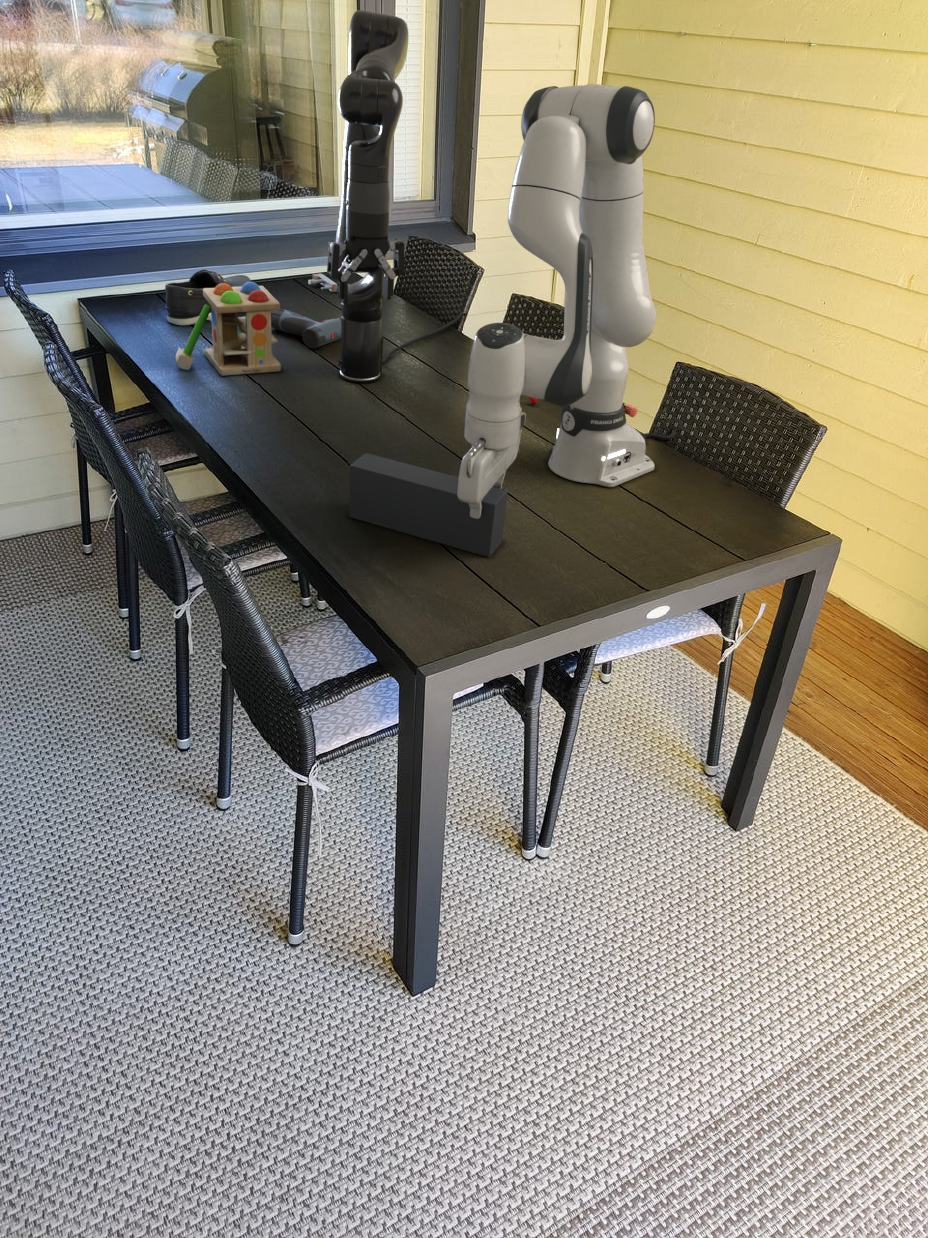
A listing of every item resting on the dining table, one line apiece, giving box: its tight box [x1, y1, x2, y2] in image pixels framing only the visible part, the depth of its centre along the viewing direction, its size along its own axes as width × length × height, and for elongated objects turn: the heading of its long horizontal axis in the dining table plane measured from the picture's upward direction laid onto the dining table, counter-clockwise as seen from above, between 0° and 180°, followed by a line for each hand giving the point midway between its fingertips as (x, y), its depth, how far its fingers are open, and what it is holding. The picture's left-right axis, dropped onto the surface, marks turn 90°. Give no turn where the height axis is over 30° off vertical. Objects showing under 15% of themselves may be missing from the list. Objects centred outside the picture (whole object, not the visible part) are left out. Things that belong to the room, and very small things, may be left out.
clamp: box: [307, 273, 350, 293], centre depth 287 cm, size 15×2×10 cm
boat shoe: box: [164, 269, 253, 326], centre depth 260 cm, size 13×33×10 cm, turn 147°
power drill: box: [271, 308, 341, 349], centre depth 252 cm, size 5×19×20 cm
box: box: [348, 452, 509, 558], centre depth 170 cm, size 27×6×10 cm, turn 67°
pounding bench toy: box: [174, 281, 282, 377], centre depth 225 cm, size 23×14×18 cm, turn 116°
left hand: (365, 299), depth 181 cm, fingers open, 8 cm apart
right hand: (485, 504), depth 166 cm, fingers open, 8 cm apart
